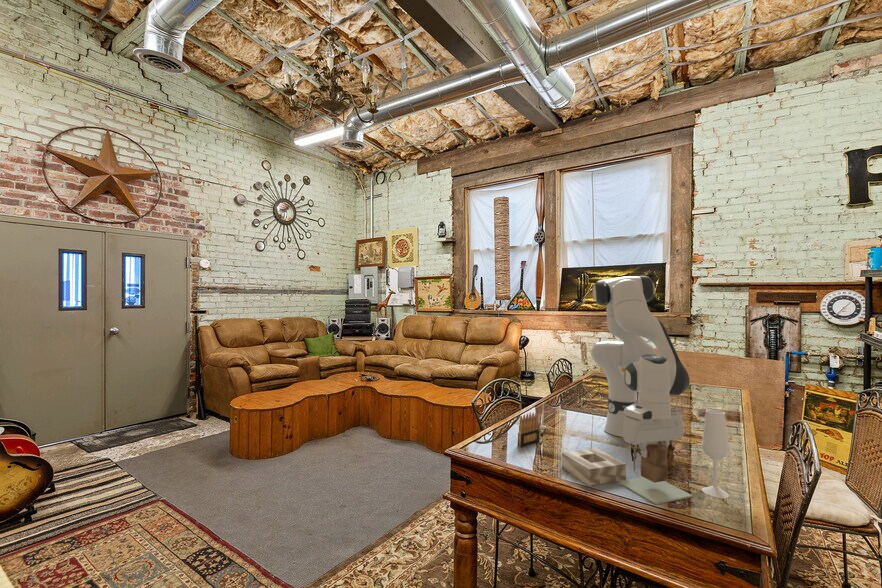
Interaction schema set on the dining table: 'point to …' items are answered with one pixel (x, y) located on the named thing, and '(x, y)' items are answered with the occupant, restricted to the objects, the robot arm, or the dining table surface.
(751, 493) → the dining table surface
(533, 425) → the ammunition clip
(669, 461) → the wooden carving
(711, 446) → the champagne flute
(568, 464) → the pocket block
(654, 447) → the walnut peg
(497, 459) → the dining table surface
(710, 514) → the dining table surface
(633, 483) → the sage mat
